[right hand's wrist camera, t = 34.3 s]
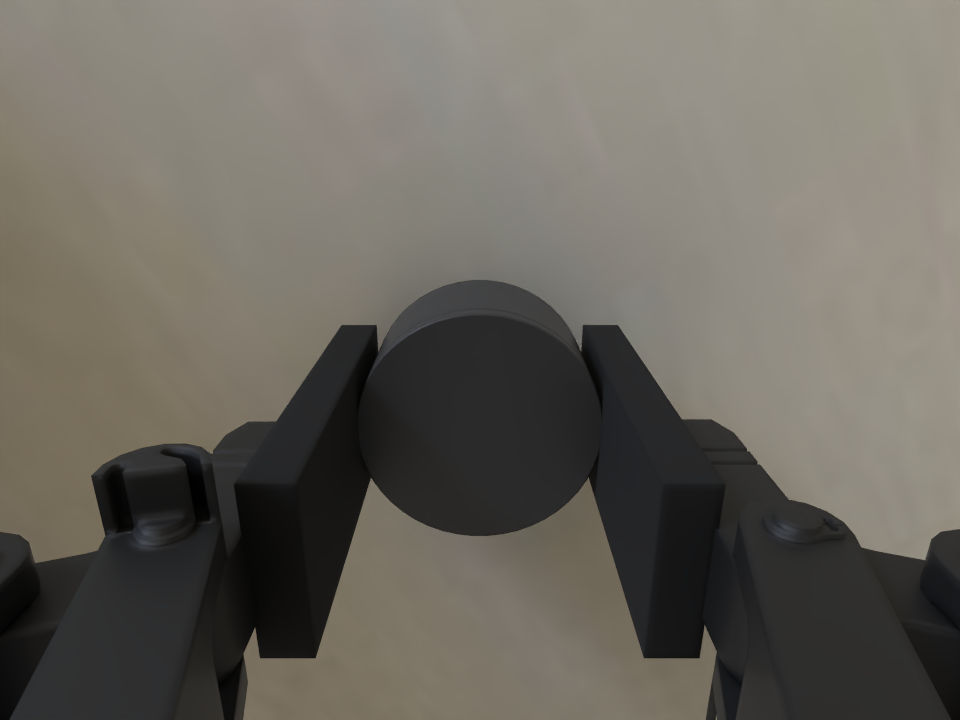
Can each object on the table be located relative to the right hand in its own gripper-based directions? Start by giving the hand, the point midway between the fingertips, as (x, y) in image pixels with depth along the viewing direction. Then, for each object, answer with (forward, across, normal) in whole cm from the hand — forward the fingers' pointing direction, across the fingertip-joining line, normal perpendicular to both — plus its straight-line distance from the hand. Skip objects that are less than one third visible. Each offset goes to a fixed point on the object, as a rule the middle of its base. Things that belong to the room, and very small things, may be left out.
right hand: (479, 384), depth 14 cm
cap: (-2, 0, 0) cm, 2 cm away
